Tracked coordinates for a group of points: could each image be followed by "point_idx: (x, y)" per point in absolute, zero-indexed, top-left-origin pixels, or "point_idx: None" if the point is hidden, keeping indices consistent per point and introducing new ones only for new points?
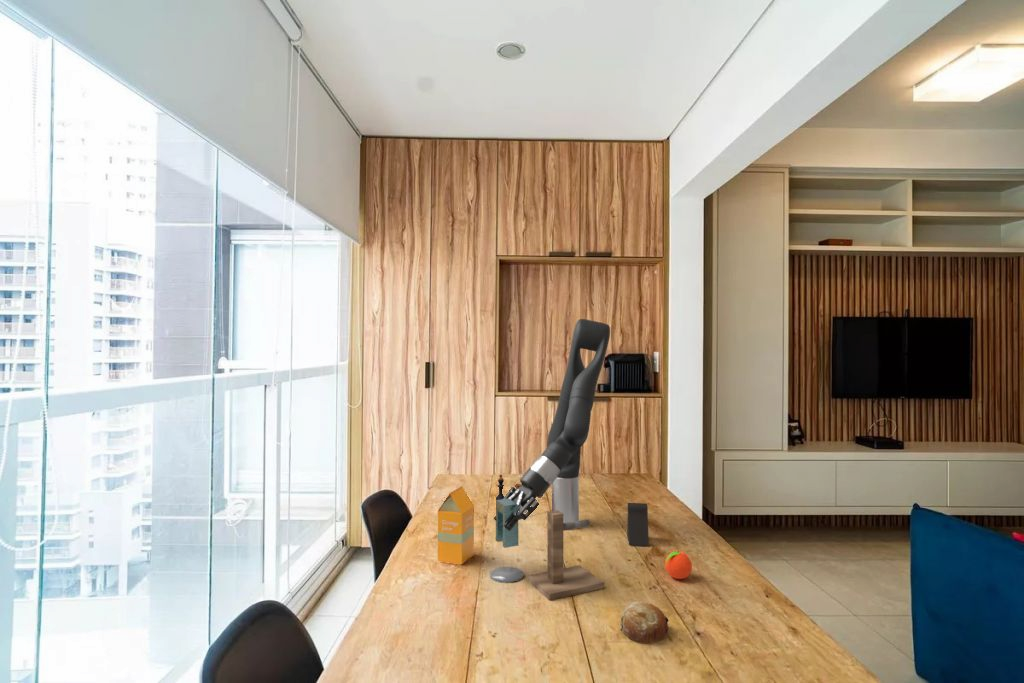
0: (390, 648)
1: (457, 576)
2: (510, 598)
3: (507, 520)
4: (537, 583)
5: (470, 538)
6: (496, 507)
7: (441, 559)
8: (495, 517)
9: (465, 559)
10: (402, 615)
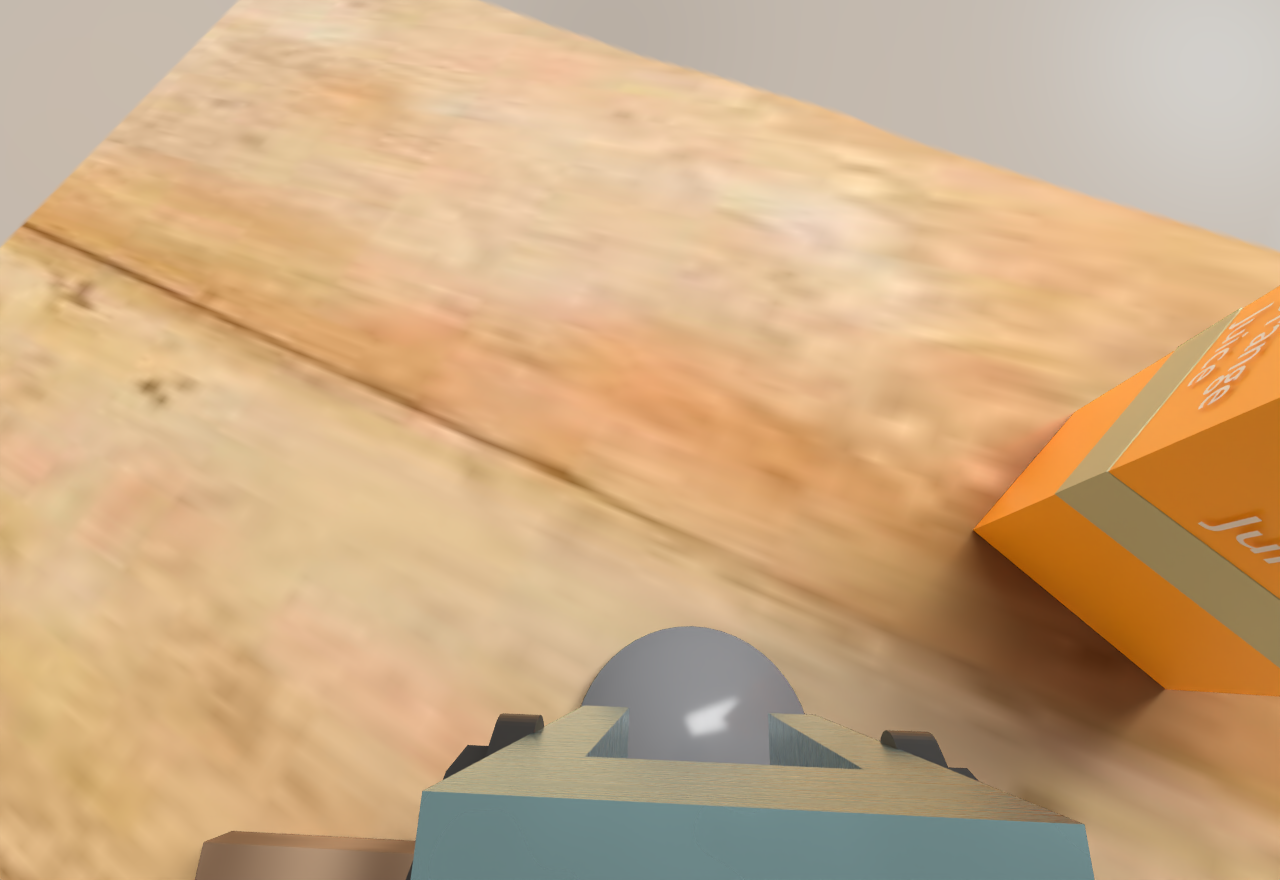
0: (321, 69)
1: (807, 448)
2: (394, 613)
3: None
4: (381, 855)
5: (1226, 637)
6: (944, 782)
7: (1071, 422)
8: (904, 745)
9: (1036, 573)
10: (517, 135)
